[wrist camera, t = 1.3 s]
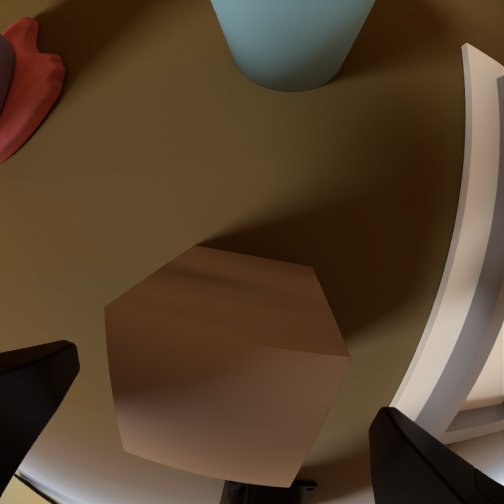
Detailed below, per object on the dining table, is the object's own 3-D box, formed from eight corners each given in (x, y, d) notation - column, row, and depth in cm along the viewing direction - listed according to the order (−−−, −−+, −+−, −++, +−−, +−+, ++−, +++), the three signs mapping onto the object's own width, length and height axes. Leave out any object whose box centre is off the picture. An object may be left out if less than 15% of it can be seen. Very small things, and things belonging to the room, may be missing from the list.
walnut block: (287, 365, 13) (289, 487, 6) (185, 345, 13) (124, 450, 6) (311, 266, 12) (350, 357, 5) (194, 245, 12) (103, 307, 5)
